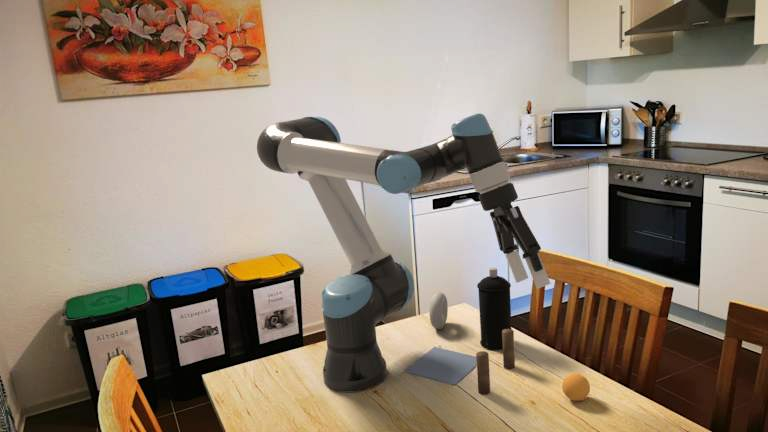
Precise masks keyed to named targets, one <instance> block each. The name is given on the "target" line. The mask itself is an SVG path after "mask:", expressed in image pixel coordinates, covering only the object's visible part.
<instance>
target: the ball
mask: <svg viewBox="0 0 768 432" xmlns="http://www.w3.org/2000/svg"><path fill="white" fill-rule="evenodd" d="M561 386H562V387H561V388H562V392H563V394H564V395H565V396H566V397H567V399H569V400H571V401H575V402H580V401H583V400H585V399H586V398H587V397H588V395H589V394H590V391H591V385H590V382H589V381H588V379H587V377H585V376H584V375H582V374H580V373H576V372H574V373H570V374H568V375H566V376H565V377H564V379H563V381H562V383H561Z"/></svg>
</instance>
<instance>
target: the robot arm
mask: <svg viewBox="0 0 768 432" xmlns="http://www.w3.org/2000/svg"><path fill="white" fill-rule="evenodd" d="M450 127H451V128H450V129H451V135H450V136H448V137H446V138H445V139H442V140H439V141H437V142H435V143H432V144H430V145H429V144H428V145H426V146H422V147H420V148H418V147H417V148H416V149H411V150H408V151H401V150H394V149H392V150H391V149H386V148H379V147H378V148H377V147H374V146H373V147H371V146H366V145H365V146H364V145H358V144H357V145H356V144H351V143H350V144H349V143H343V142H342V141H341V140H342V139H341V135H340V133H339V131H338V129H337V127H336V126H335V125H334V124H333V123H332V122H331V121H330V120H329V119H327V118H325V117H321V116H305V117H302V118H298V119H292V120H285V121H278V122H274V123H272V124H270V125H268V126H266V128H264V129H263V130H262V131H261V133H260V134H259V136H258V138H257V143H256V152H257V155H258V158H259V159H260V161H261V163H262V164H263V165H264V166H265V167H267V169H269V170H272V171H275V172H278V173H284V174H289V175H292V174H293V175H294V174H297V175H298V177H299V178H300V179H301V180H304V181H307V182H308V183H309V185H310V187H311V189H312V191H313V193H314V195H315V198H316V199H317V201H318V203H319V206H320V207H321V209H322V210H323V213H324V215H325V217H326V219H327V221H328V222H329V224H330V226H331V229H332V230H333V233H334V235H335V237H336V238H337V240H338V243H339V245H340V247H341V249H342V250H343V252H344V254H345V256H346V258H347V260H348V262H349V264H350V270H349V273H348V275H345V276H340V277H337V278H334V279H333V280H331V281H329V282H328V283H327V284H326V285H325V286H324V287H323V290H322V291H321V310H322V314H323V315H322V316H323V325H324V331H325V338H326V347H327V349H326V354H325V358H324V364H323V365H324V366H323V369H322V375H323V378H322V379H323V382H324V384H325V385H326V386H327V387H328V388H330V389H331V390H333V391H338V392H343V393H345V392H346V393H347V392H348V393H354V392H362V391H365V390H369V389H372V388H374V387H376V386H378V385H380V384H381V383H382V382H384V380H385V379H386V377H387V376H388V366H387V362H386V360H385V358H384V357H383V355H382V352H381V350H380V347H379V345H378V341H377V330H376V325H377V324H378V323H380V322H382V321H383V320H385V319H386V318H388V317H390V316H391V315H393V314H394V313H397V312H398V311H401V310H402V309H403V308H404V307H405V306H406V305H407V304H408V303H410V301H411V299H412V297H413V295H414V292H415V291H414V290H415V280H414V277H413V275H412V273H411V271H410V269H409V268H408V267H407V265H405V264H402V262H400V261H397V260H396V261H395V260H394V258H393V256H392V254H391V253H390V252H387V251H385V250H383V249H382V248H381V246H380V243H379V241H378V240H377V238H376V236H375V234H374V232H373V230H372V228H371V226H370V225H369V224H370V223H368V220H367V218H366V216H365V214H364V213H363V210H362V209H361V207H360V205H359V203H358V201H357V199H356V197H355V195H354V194H353V191H352V189H351V187H350V185H349V183H348V182H347V180H348V181H355V182H360V183H366V184H370V185H377V186H380V187H381V188H382V189H383V190H384V191H386V193H389V194H393V195H398V194H405V193H409V192H410V191H412V190H414V189H416V188H419V187H422V186H424V185H427V184H430V183H434V182H435V183H436V182H437V181H440V180H441V179H444V178H446V177H448V176H451V175H453V174H455V173H457V172H460V171H462V170H465V169H467V170H466V171H468V174H469V178H470V180H471V183H472V185H473V188H474V190H475V192H476V193H479V194H478V200H479V202H480V205H481V207H482V210H483V212H489V215H490V218H491V221H492V224H493V227H494V231H495V235H496V239H497V242H498V248H499V251H501V252H502V253H503V254H504V256H505V258H506V260H507V263H508V265H509V268H510V270H511V273H512V275H513V277H514V278H513V279H514V280H515V283H517V284H518V283H520V282H522V281H526V280H527V279H529V276H528V273H527V271H526V268H525V266H524V263H523V261H522V259H523V260H525V262H526V265H527V268H528V270H529V272H530V274H531V278H532V280H533V282H534V285H535V287H536V289H541V288H543V287H546V286H548V285H551V281H550V278H549V275H548V273H547V271H546V268H545V266H544V263H543V260H542V259H541V256H540V250H542V247H541V245H540V244H539V242H538V240H537V239H536V237H535V235H534V233H533V232H532V230H531V228H530V226H529V224H528V222H527V221H526V219H525V218H524V216H523V214H522V211H521V209H520V207H519V206H518V205H516V206H514V207H513V205H512V202H514V201H517V200H518V198H519V196H518V193H517V191H516V189H515V185H514V182H513V183H512V182H509V181H510V180H511V176H510V173H509V171H508V170H509V169H510V168H509V166H508V165H507V164H505V162H504V158H503V157H502V154H501V151H500V148H499V146H498V144H497V140H496V138H495V136H494V131H493V129H492V128H491V126H490V123H489V122H488V118H487V117H486V115H485V114H483V113H475V114H472V115H470V116H466V117H464V118H462V119H460V120H457V121H456V122H454V123H453V124H452V125H451V126H450ZM492 210H493V211H492ZM515 242H516V244H515ZM517 244H518V246H519V247H518V246H517ZM518 249H520V250H521V251H522V259H521V256H520V253H519V250H518Z"/></svg>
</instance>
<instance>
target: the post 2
mask: <svg viewBox="0 0 768 432" xmlns="http://www.w3.org/2000/svg"><path fill="white" fill-rule="evenodd" d="M514 331H515V330H513V329H512V328H511V329H504V330H502V341H503V350H502V356H503V357H502V361H503V369H505V370H514V369H515V368H516V359H515V358H516V357H515V356H516V355H515V335H514Z"/></svg>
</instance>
